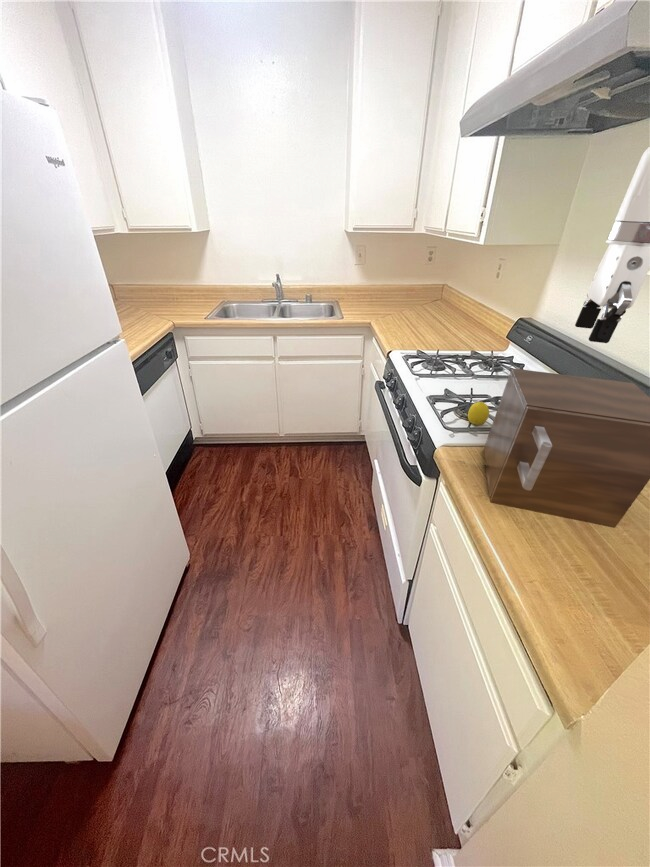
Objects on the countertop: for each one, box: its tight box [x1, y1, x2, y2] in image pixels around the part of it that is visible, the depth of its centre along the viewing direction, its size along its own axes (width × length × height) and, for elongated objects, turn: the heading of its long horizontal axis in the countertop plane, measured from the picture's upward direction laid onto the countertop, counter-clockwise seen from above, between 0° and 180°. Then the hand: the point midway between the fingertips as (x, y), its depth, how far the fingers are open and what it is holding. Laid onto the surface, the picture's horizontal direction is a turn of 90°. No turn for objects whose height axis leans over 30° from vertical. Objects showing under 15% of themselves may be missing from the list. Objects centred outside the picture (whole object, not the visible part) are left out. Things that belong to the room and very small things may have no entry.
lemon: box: [467, 401, 490, 426], centre depth 101 cm, size 6×6×8 cm
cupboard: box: [483, 368, 650, 499], centre depth 75 cm, size 18×24×24 cm
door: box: [489, 406, 650, 529], centre depth 64 cm, size 8×24×24 cm, turn 74°
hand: (590, 334), depth 68 cm, fingers open, 9 cm apart
